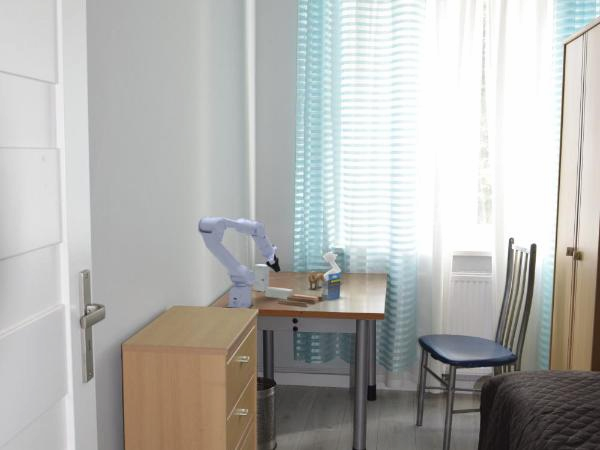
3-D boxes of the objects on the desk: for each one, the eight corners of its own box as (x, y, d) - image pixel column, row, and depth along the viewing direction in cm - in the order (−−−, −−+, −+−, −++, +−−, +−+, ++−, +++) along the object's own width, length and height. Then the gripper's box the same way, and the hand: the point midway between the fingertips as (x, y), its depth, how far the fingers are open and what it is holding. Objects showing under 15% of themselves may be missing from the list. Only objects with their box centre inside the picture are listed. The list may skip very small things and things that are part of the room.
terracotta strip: (315, 302, 304) (315, 297, 304) (292, 299, 310) (292, 295, 309) (318, 301, 307) (318, 296, 307) (295, 298, 312) (295, 294, 312)
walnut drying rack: (305, 309, 294) (306, 303, 294) (276, 306, 301) (276, 299, 301) (324, 302, 309) (325, 296, 309) (296, 299, 316) (296, 293, 316)
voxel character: (351, 274, 353) (333, 249, 352) (331, 288, 354) (313, 263, 353) (350, 272, 360) (333, 248, 359) (331, 285, 361) (314, 261, 360)
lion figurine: (316, 291, 336) (316, 272, 335) (305, 290, 338) (306, 271, 337) (327, 286, 350) (327, 267, 349) (317, 285, 352) (317, 266, 351)
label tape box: (333, 298, 319) (333, 271, 317) (340, 299, 316) (340, 272, 315) (320, 301, 312) (321, 273, 311) (328, 302, 309) (328, 274, 308)
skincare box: (253, 290, 336) (253, 264, 334) (259, 289, 339) (259, 263, 338) (263, 292, 332) (264, 265, 331) (269, 290, 336) (269, 264, 335)
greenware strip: (289, 302, 310) (289, 290, 310) (265, 299, 316) (265, 288, 316) (293, 300, 313) (293, 289, 313) (269, 297, 319) (269, 286, 319)
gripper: (275, 249, 302) (288, 271, 310) (268, 230, 314) (281, 253, 322) (260, 256, 302) (273, 278, 310) (254, 238, 314) (267, 260, 322)
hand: (276, 266), depth 316 cm, fingers open, 7 cm apart
